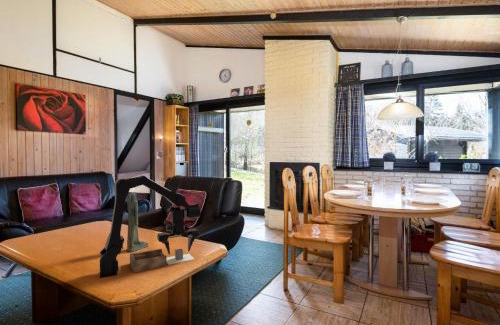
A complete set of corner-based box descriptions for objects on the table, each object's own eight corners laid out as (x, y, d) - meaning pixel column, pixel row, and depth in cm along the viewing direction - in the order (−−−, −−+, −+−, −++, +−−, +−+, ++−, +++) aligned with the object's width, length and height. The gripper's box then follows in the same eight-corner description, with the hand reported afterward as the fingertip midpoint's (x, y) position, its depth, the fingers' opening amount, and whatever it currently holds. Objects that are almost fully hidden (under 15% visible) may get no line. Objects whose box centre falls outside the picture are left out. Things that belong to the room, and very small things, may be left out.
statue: (149, 246, 156) (147, 191, 155) (131, 252, 146) (130, 193, 146) (140, 244, 159) (139, 190, 158) (123, 250, 150) (121, 193, 149)
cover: (168, 265, 129) (167, 254, 128) (164, 259, 136) (164, 249, 136) (194, 261, 134) (194, 250, 134) (189, 255, 142) (189, 245, 142)
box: (132, 272, 120) (132, 262, 120) (130, 263, 131) (129, 253, 131) (166, 266, 127) (166, 256, 126) (161, 257, 137) (161, 248, 137)
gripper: (192, 214, 146) (193, 245, 146) (154, 219, 138) (155, 251, 138) (199, 218, 136) (200, 251, 137) (158, 223, 128) (159, 258, 128)
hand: (179, 252), depth 135 cm, fingers open, 9 cm apart
